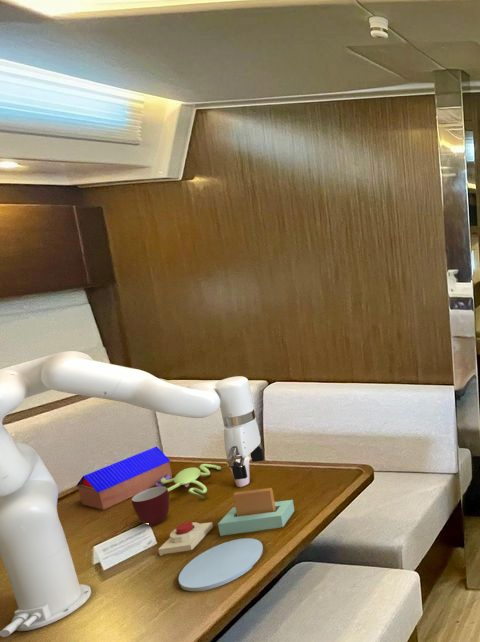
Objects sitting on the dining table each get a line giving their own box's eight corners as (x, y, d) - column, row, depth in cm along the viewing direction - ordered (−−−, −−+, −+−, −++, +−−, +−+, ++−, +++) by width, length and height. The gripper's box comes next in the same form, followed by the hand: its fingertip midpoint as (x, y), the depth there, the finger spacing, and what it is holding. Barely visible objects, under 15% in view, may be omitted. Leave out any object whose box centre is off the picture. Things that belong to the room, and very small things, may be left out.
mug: (123, 529, 139) (116, 500, 137) (151, 512, 147) (145, 485, 145) (154, 531, 138) (147, 502, 136) (180, 514, 146) (174, 486, 144)
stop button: (188, 534, 132) (187, 528, 131) (173, 536, 131) (172, 530, 131) (196, 525, 135) (195, 520, 135) (182, 527, 134) (181, 522, 134)
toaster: (283, 528, 139) (281, 515, 138) (220, 537, 136) (217, 523, 135) (294, 511, 147) (292, 499, 146) (235, 519, 143) (232, 507, 142)
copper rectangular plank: (275, 521, 141) (269, 490, 139) (239, 526, 139) (233, 495, 137) (277, 518, 143) (272, 487, 141) (241, 523, 141) (235, 492, 139)
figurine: (128, 520, 143) (124, 505, 142) (162, 478, 167) (159, 464, 166) (202, 504, 151) (198, 489, 150) (224, 465, 175) (222, 452, 174)
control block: (192, 551, 130) (189, 539, 129) (159, 555, 128) (156, 543, 127) (213, 528, 139) (210, 516, 139) (183, 532, 138) (180, 520, 137)
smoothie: (244, 489, 159) (238, 453, 157) (227, 489, 159) (219, 453, 157) (258, 478, 166) (252, 443, 163) (241, 478, 166) (234, 444, 163)
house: (80, 504, 152) (71, 473, 150) (152, 472, 171) (145, 444, 168) (102, 510, 149) (94, 478, 146) (174, 477, 167) (167, 448, 165)
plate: (242, 584, 118) (241, 580, 118) (161, 597, 114) (160, 593, 114) (275, 537, 135) (274, 533, 135) (206, 547, 131) (205, 543, 131)
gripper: (241, 407, 141) (251, 456, 145) (206, 433, 125) (218, 487, 128) (268, 404, 143) (277, 453, 147) (237, 429, 126) (248, 484, 130)
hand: (249, 469), depth 138 cm, fingers open, 9 cm apart
